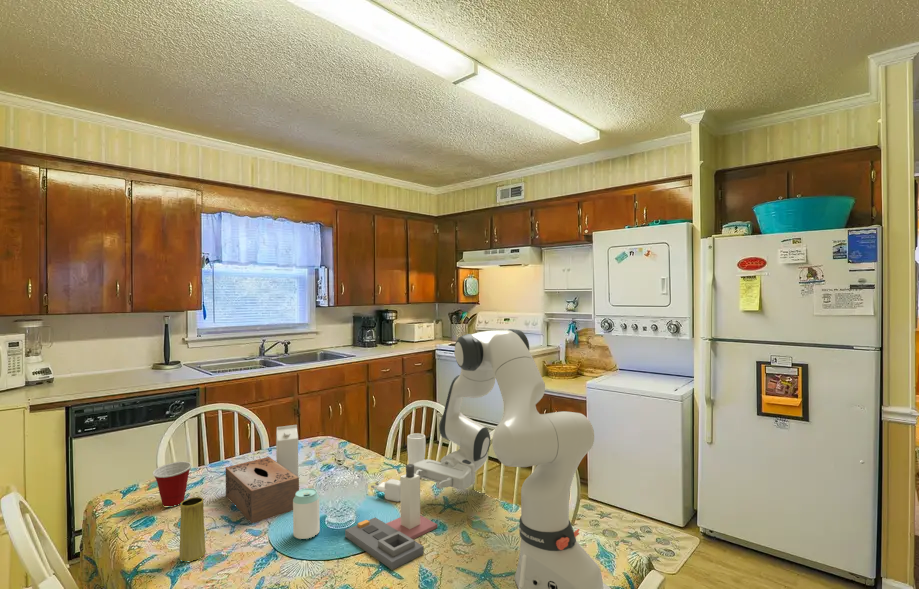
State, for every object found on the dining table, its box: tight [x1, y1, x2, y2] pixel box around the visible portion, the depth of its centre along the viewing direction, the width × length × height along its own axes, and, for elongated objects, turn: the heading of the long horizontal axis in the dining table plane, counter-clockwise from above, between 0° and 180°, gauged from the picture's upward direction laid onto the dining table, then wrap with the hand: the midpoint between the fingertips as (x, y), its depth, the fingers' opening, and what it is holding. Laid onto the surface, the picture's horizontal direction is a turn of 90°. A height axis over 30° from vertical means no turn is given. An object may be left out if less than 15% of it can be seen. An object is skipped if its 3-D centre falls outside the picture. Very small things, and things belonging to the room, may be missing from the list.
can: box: [292, 487, 321, 540], centre depth 131 cm, size 7×7×12 cm
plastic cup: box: [152, 461, 192, 506], centre depth 151 cm, size 11×11×12 cm
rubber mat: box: [386, 514, 438, 540], centre depth 134 cm, size 11×11×1 cm
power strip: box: [344, 517, 425, 571], centre depth 125 cm, size 22×10×4 cm, turn 44°
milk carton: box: [275, 424, 299, 477], centre depth 172 cm, size 7×7×19 cm
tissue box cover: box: [225, 456, 300, 524], centre depth 152 cm, size 26×14×10 cm, turn 42°
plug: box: [400, 463, 421, 529], centre depth 134 cm, size 4×4×17 cm
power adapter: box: [370, 478, 401, 503], centre depth 154 cm, size 11×5×6 cm, turn 67°
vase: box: [178, 496, 207, 562], centre depth 121 cm, size 6×6×14 cm
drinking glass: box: [406, 432, 427, 464], centre depth 172 cm, size 7×7×15 cm
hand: (425, 482), depth 140 cm, fingers open, 8 cm apart
